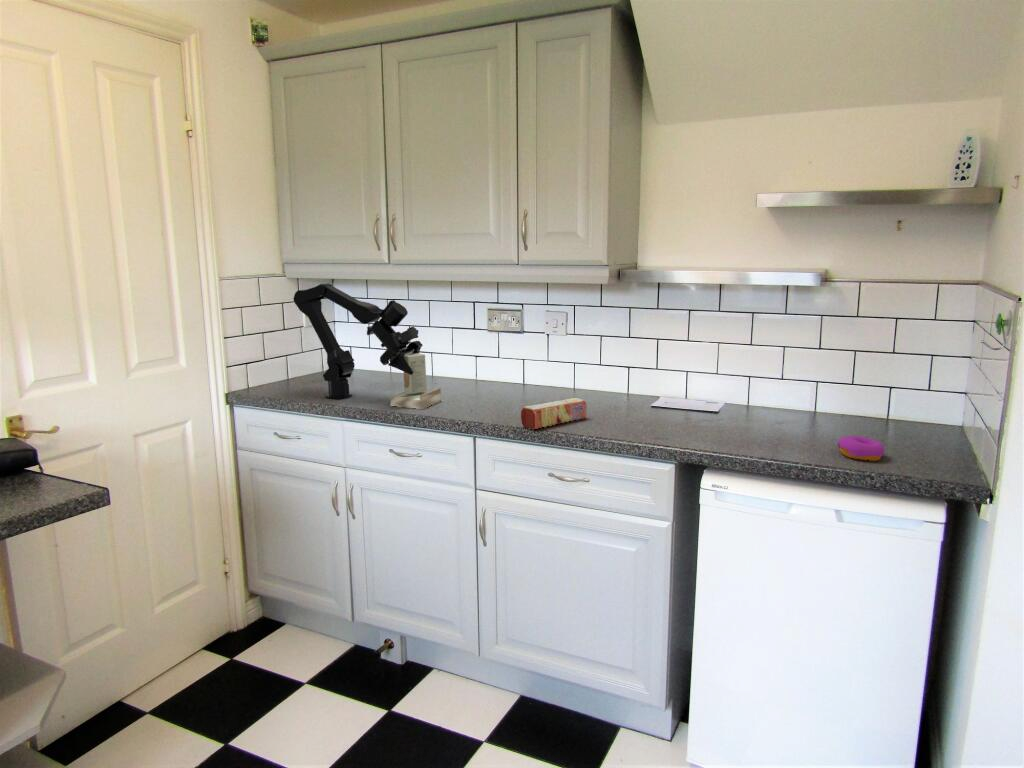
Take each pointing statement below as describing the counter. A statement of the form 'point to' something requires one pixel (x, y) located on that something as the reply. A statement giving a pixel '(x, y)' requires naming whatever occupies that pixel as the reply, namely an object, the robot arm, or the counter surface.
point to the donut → (861, 448)
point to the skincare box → (415, 373)
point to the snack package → (553, 413)
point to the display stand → (416, 399)
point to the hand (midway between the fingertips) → (418, 371)
